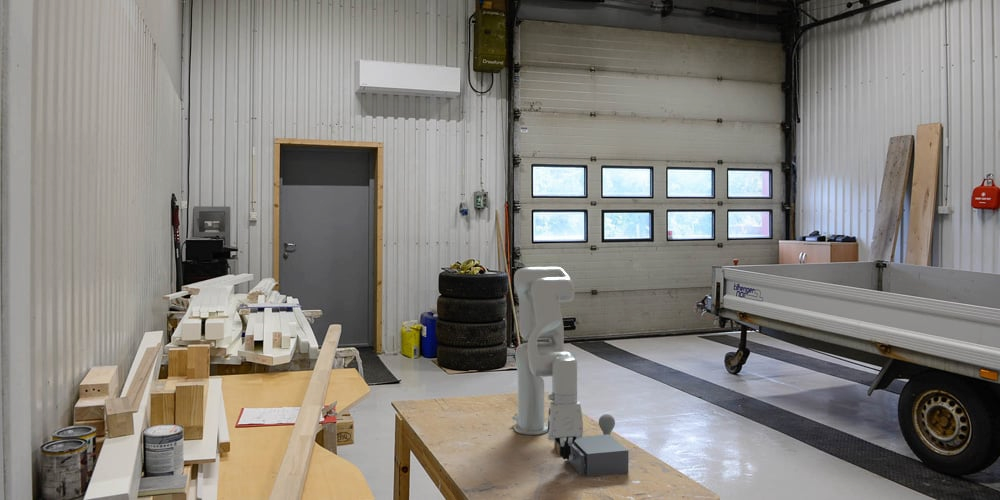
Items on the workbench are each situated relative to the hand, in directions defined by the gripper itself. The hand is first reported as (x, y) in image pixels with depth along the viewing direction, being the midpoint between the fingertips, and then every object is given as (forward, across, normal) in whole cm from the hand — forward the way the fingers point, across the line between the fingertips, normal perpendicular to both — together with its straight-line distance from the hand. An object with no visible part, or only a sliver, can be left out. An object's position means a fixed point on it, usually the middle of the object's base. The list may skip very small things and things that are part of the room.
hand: (565, 457), depth 195 cm
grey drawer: (+3, +8, 0) cm, 9 cm away
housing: (+4, +11, 0) cm, 11 cm away
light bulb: (+4, +21, +19) cm, 28 cm away
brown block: (+4, +5, +16) cm, 17 cm away
